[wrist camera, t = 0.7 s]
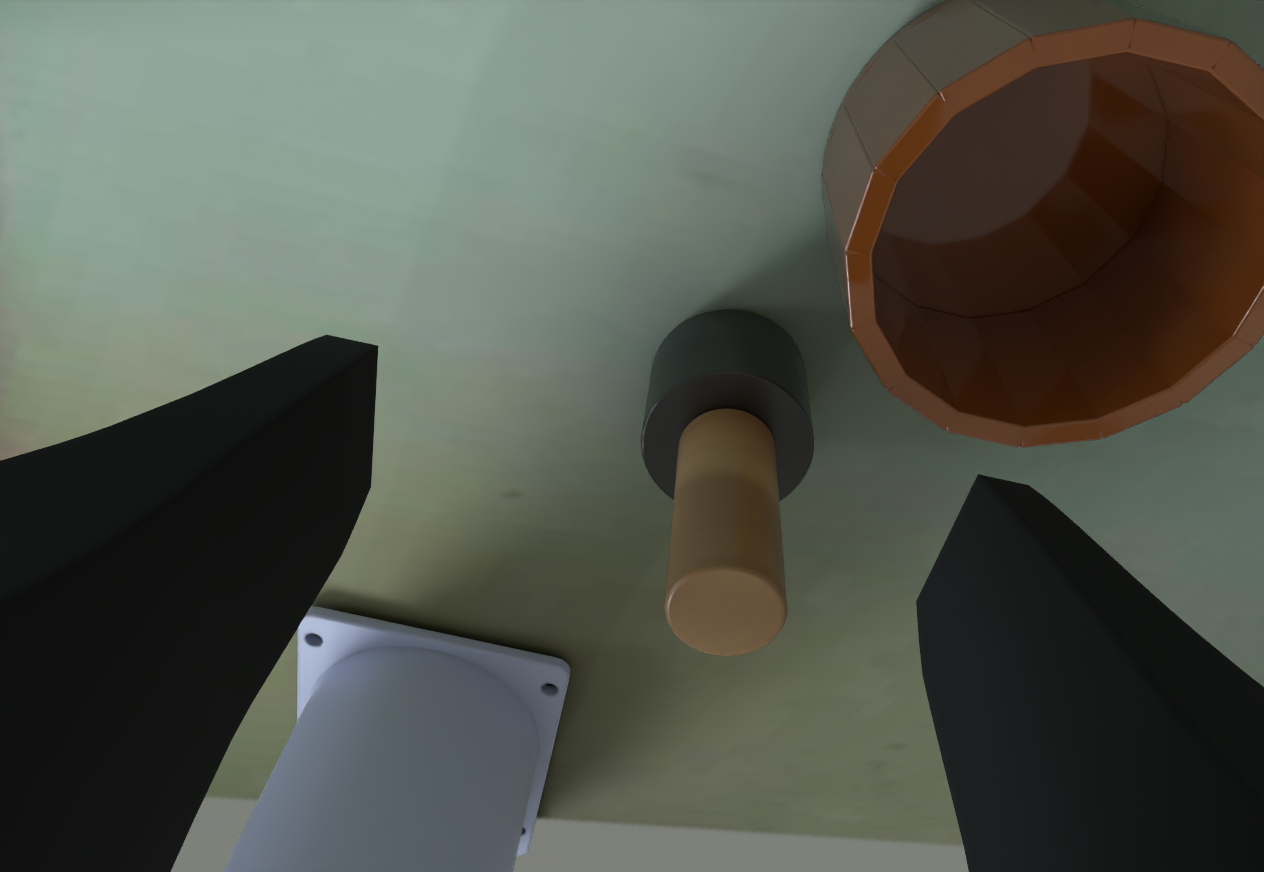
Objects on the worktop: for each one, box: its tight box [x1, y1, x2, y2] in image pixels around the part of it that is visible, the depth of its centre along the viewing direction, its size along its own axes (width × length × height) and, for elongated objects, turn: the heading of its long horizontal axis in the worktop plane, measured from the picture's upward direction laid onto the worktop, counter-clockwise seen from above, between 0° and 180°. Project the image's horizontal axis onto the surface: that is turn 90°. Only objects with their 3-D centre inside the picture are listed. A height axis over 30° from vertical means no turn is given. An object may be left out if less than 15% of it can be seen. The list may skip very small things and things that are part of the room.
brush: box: [641, 310, 814, 656], centre depth 18 cm, size 4×4×8 cm
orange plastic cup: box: [821, 0, 1264, 448], centre depth 17 cm, size 7×7×5 cm
